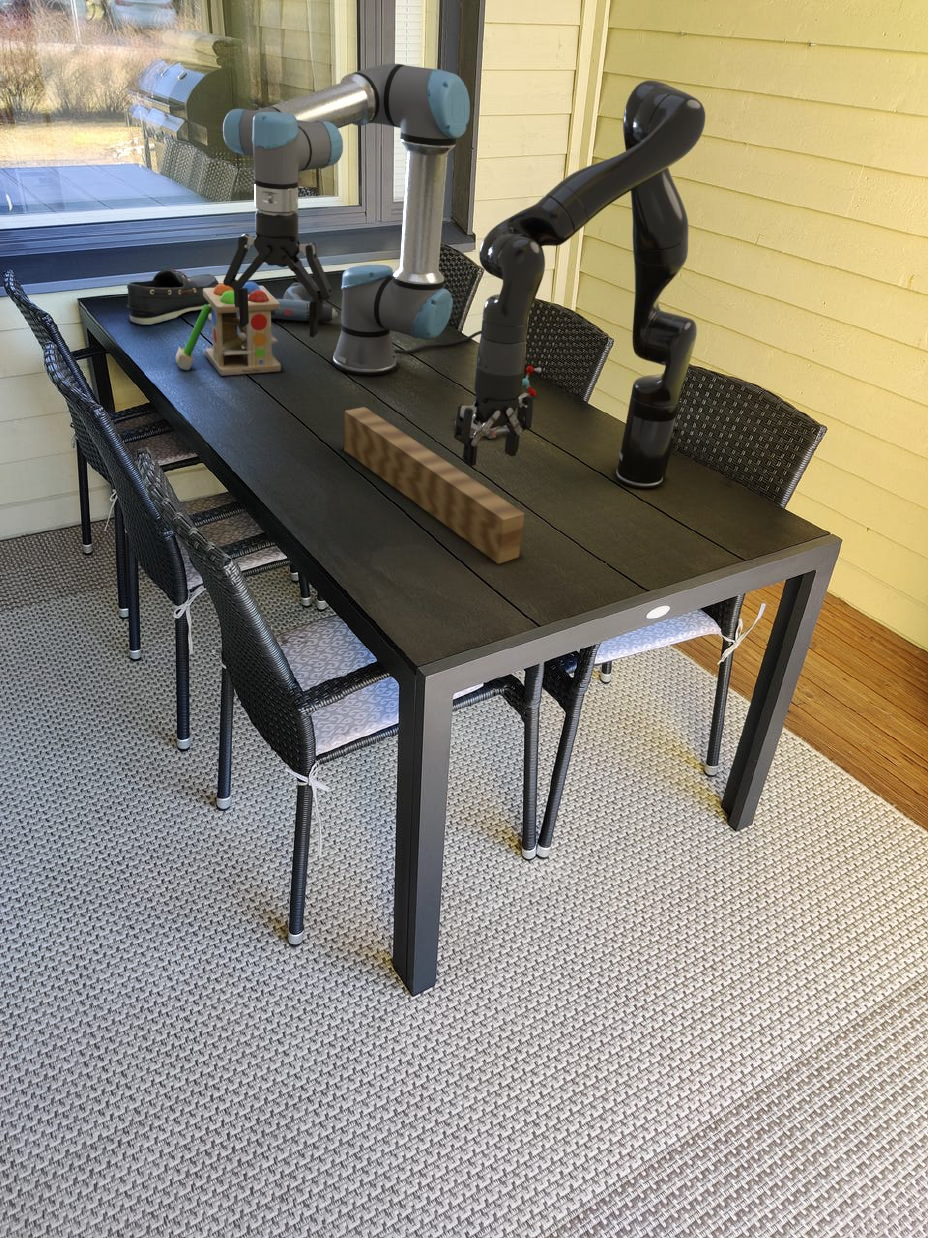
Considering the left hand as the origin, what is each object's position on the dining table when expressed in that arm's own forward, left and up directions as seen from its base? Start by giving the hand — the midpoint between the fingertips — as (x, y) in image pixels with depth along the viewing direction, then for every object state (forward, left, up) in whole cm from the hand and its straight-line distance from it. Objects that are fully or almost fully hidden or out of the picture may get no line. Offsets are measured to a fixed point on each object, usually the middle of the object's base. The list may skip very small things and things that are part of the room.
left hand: (279, 330), depth 185 cm
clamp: (-39, +18, -23) cm, 49 cm away
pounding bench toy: (-13, -43, -23) cm, 50 cm away
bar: (-8, +35, -23) cm, 43 cm away
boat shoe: (-24, -85, -23) cm, 91 cm away
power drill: (-52, -66, -23) cm, 87 cm away
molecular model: (-59, +7, -23) cm, 64 cm away
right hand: (-6, +52, -7) cm, 53 cm away
